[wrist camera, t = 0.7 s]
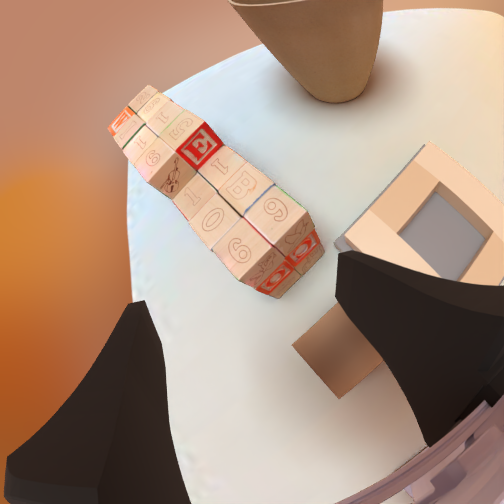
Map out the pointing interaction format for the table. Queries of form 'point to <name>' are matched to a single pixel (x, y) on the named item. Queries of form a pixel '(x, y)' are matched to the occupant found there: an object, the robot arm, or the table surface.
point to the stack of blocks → (219, 193)
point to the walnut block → (337, 351)
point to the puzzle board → (434, 222)
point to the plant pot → (319, 41)
